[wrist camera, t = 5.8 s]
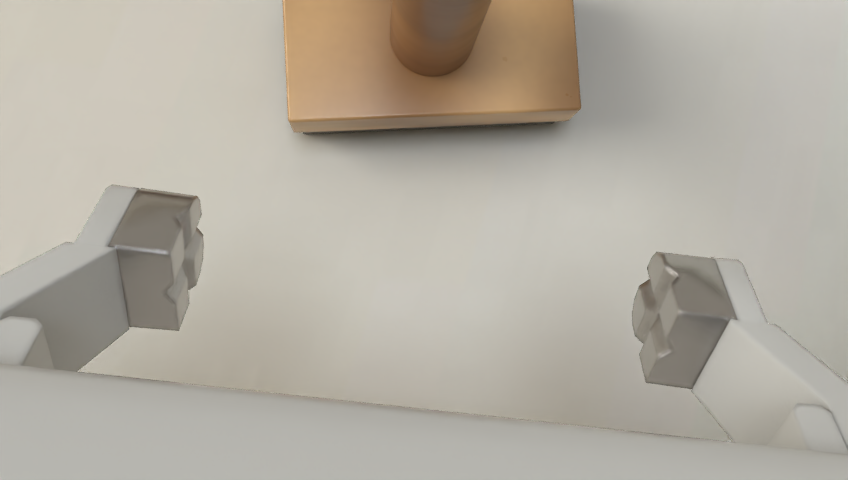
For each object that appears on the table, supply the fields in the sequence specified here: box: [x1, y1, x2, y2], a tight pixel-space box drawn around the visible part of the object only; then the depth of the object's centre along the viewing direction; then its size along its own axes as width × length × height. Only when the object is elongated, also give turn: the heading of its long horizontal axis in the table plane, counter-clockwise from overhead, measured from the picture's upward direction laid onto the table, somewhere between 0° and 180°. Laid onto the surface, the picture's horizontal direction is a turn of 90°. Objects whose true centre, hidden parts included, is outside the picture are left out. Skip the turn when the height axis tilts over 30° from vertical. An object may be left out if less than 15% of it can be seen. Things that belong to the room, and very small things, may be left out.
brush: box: [283, 0, 581, 134], centre depth 22 cm, size 9×5×10 cm, turn 94°
